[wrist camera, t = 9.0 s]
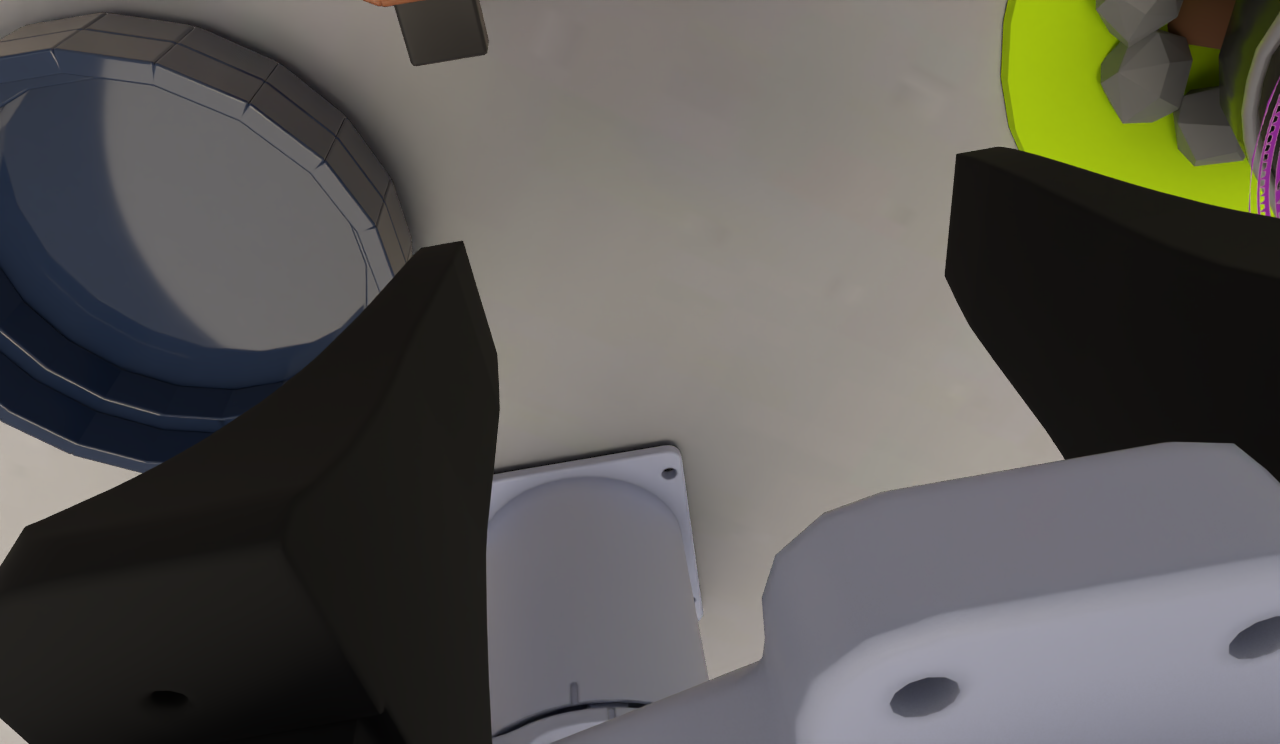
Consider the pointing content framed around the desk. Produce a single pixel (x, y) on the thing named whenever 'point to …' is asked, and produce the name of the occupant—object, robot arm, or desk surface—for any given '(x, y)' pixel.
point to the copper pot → (440, 29)
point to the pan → (172, 233)
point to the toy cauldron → (1151, 93)
